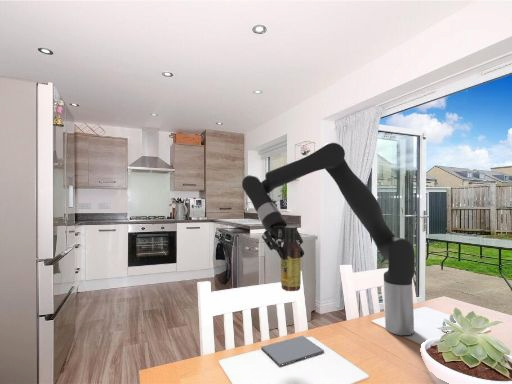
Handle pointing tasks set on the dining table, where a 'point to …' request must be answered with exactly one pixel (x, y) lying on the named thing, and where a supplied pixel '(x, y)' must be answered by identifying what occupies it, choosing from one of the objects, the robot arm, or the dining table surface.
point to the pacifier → (450, 320)
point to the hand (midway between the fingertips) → (294, 257)
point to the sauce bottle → (291, 261)
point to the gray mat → (292, 350)
